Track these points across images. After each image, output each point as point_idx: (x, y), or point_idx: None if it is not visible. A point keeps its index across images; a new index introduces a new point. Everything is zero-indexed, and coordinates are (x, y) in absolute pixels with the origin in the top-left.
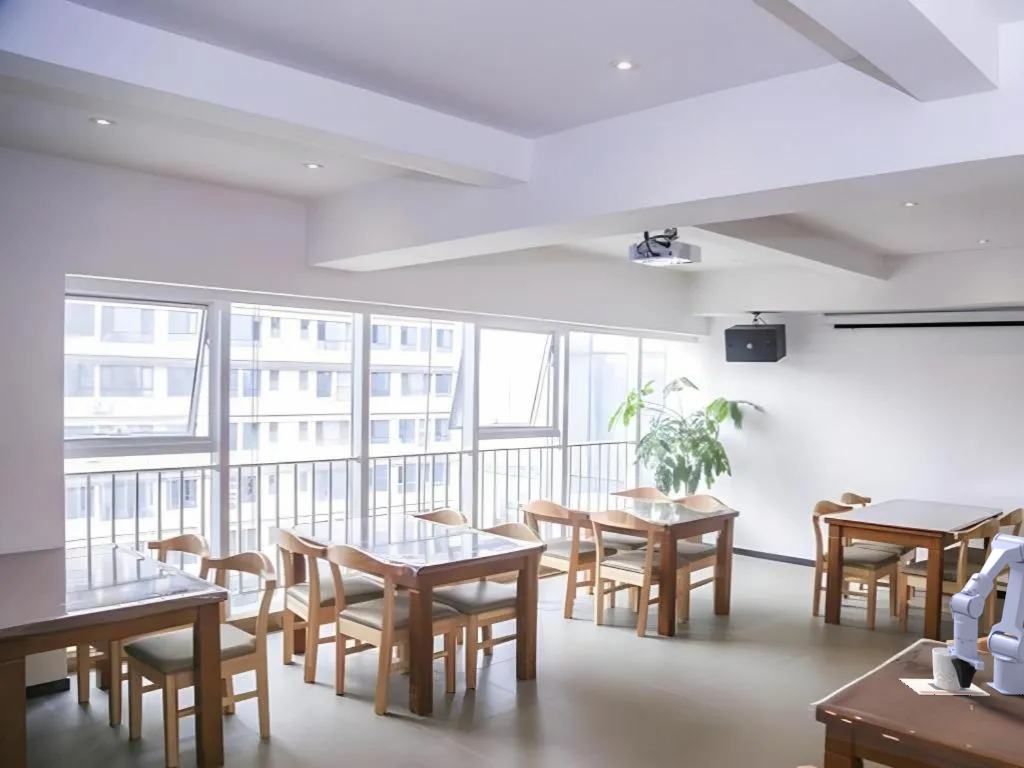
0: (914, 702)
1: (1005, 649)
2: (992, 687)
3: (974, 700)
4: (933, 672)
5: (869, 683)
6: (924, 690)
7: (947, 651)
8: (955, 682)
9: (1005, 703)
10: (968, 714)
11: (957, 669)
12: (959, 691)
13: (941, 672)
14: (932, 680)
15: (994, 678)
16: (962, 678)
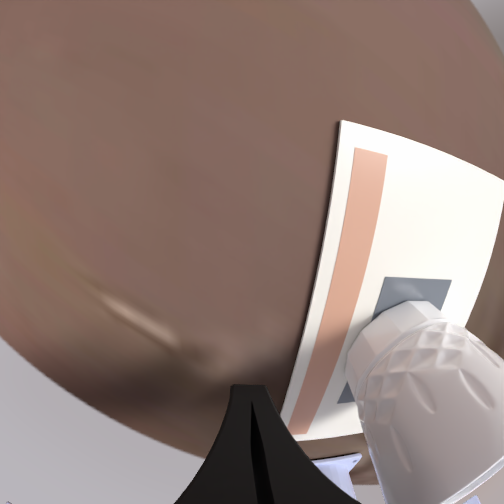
0: (216, 14)
1: None
2: (331, 458)
3: (231, 381)
4: (468, 331)
5: (465, 14)
6: (392, 199)
7: (477, 498)
8: (358, 390)
9: (201, 443)
10: (46, 241)
11: (273, 485)
12: (336, 373)
13: (430, 366)
14: (458, 321)
15: (336, 483)
16: (217, 438)
